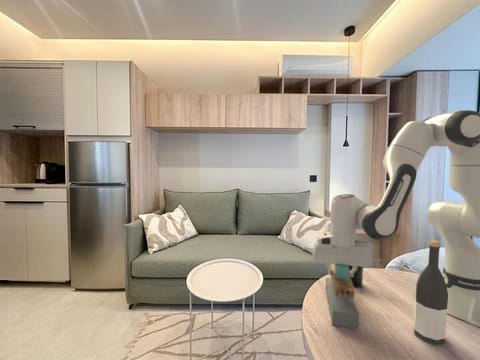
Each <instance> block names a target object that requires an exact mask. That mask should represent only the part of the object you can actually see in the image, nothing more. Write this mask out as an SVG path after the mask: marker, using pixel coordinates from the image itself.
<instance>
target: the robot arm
mask: <svg viewBox="0 0 480 360" xmlns="http://www.w3.org/2000/svg"><path fill="white" fill-rule="evenodd" d="M431 147H447V148H448V150H449V154H450V157H449V170H448V171H449V175H448V177H449V179H448V185H449V187H450V188H451V190H452V191H454V192H456V193H457V194H459V195H460V196H461V197H462V199H464V202H458V201H450V200H449V201H448V200H445V201H444V200H443V201H435V202H433V203H432V204H431V205H430V206H429V207H428V210H427V214H426V215H427V219H428V222H429V223H430V224H431V225H432V226H433V227H434V228H435V229H436V230H437V232H438V233H439V235H440V238H441V239H442V241H443V247H444V267H443V268H442V275H443V277H444V280H445V283H446V286H447V291H448V304H447V315H450V316H452V317H453V318H457V319H460V320H463V321H465V322H467V323H469V324H471V325H473V326H475V327H479V328H480V247H479V246H478V245H477V244H476V243H475V242H474V241H473V239H472V237H473V238H474V237H475V238H477V239H480V112H478V111H476V110H470V109H469V110H467V109H466V110H457V111H451V112H446V113H445V112H444V113H440V114H439V115H435V116H430V117H427V118H426V119H423V120H413V121H412V120H411V121H409V122H407V123H405V124H404V125H403V127H401V129H399V131H398V132H397V134H396V135H395V136H394V138H393V140H392V141H391V143H390V144H389V146H388V148H387V150H386V152H385V154H384V155H383V156H384V157H383V160H382V165H383V168H384V170H385V172H386V173H387V174H388V177H389V182H388V186H387V187H386V190H385V192H384V193H383V197H382V198H381V200H380V202H379V204H378V205H374V204H372V203H368V202H367V201H364V200H361V198H358V197H357V196H356V195H355V194H351V193H343V194H342V193H341V194H338V195H335V196H334V197H333V198H332V200H331V204H330V213H329V219H330V227H329V231H325V232H321V233H320V232H319V233H317V235H316V241H315V242H314V244H313V245H314V246H313V250H312V260H313V261H314V262H315V263H322V264H325V266H326V269H327V270H328V276H330V275H333V269H330V264H340V265H350V266H352V267H353V268H352V270H351V271H349V276H350V277H354V273H355V271H356V270H357V266H360V267H363V268H371V267H372V266H373V254H372V253H373V252H374V244H373V243H372V242H370V241H369V240H362V239H356V237H357V235H356V234H357V231H358V230H362V231H363V232H364V233H365V234H366V235H367V236H368V237H369V238H371V239H372V240H374V241H380V242H383V241H387V240H389V239H392V238H393V237H394V236H395V235H396V234H397V232H398V231H399V226H400V219H401V218H400V217H401V215H402V211H403V209H404V207H405V204H406V202H407V201H408V198H409V197H410V194H411V191H412V189H413V187H414V185H415V183H416V179H417V175H418V170H419V168H420V165H421V164H422V162H423V160H424V158H425V157H426V155H427V153H428V151H429V150H430V148H431Z"/></svg>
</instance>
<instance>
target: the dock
mask: <svg viewBox="0 0 480 360" xmlns="http://www.w3.org/2000/svg"><path fill="white" fill-rule="evenodd" d="M325 293H326V298H327V305H328V310H329V314H330V321H331V326H336V327H341V328H350V329H357V330H358V329H359V323H360V322H359V320H360V314H359V311H358V308H357V305H356V303H355V298H354V299H349V297H348V295H347V298H343V295H342V292H341V297H336V295H335V291H334V287H333V283H332V279H331V277H325Z"/></svg>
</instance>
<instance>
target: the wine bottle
mask: <svg viewBox="0 0 480 360" xmlns="http://www.w3.org/2000/svg"><path fill="white" fill-rule="evenodd" d="M428 245H429V246H428V247H429V252H428V263H427V266H425V268H424V269H423V270H422V271H421V273H420V274H419V276H418V278H417V281H416V285H415V286H416V287H415V299H414V300H415V302H414V319H413V320H414V321H413V330H414V331H413V332H414V335H415V336H416V337H418V338H419V339H420V340H422V341H423V342H426V343H429V344H432V345H434V346H435V345H436V346H437V345H443V344H445V342H446V341H445V340H446V330H447V315H448V313H447V304H448V291H447V286H446V283H445V280H444V277H443V272H441V270H440V268H439V261H440V260H439V259H440V249H441V246H440V242H439V240H430V243H429V244H428Z"/></svg>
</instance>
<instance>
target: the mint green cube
mask: <svg viewBox="0 0 480 360" xmlns="http://www.w3.org/2000/svg"><path fill="white" fill-rule="evenodd" d="M335 274H336V278H342V279H349V267H348V265H340V264H335Z"/></svg>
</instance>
